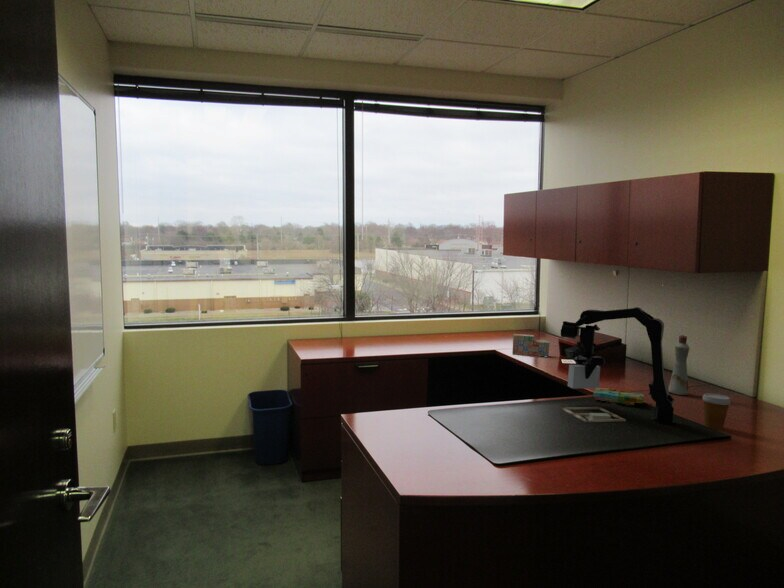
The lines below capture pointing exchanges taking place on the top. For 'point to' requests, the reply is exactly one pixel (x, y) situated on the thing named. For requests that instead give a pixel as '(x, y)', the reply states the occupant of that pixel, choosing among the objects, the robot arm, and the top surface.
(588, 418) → the offcut lower
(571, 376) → the light grey block
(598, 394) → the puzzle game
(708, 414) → the disposable coffee cup
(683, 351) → the bottle
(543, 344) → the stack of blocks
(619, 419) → the frame
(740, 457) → the top surface
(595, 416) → the offcut upper
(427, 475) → the top surface
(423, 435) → the top surface
